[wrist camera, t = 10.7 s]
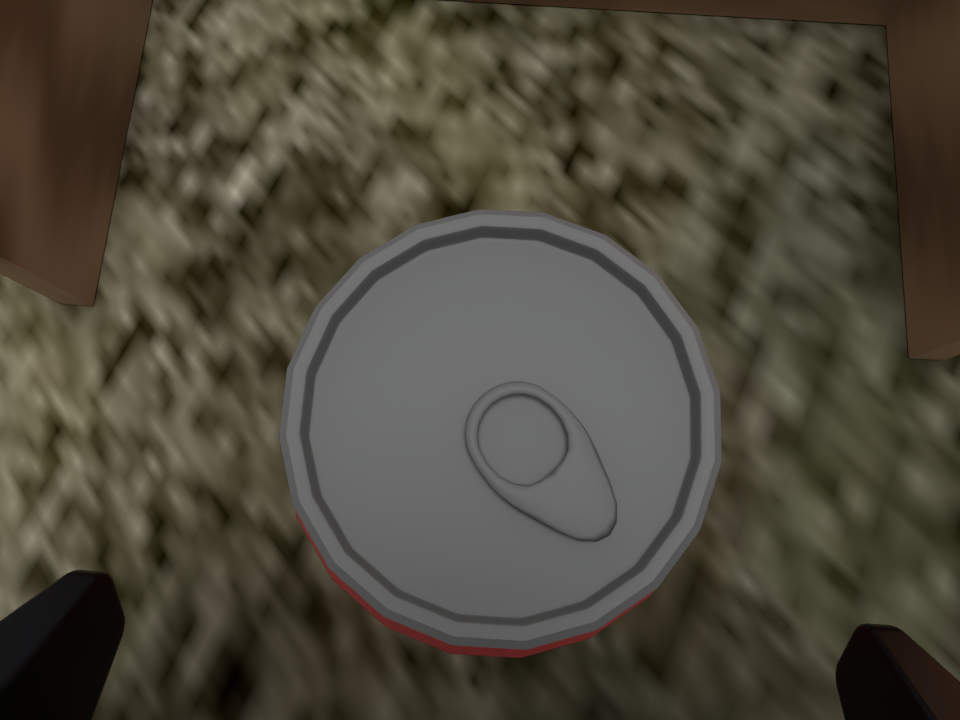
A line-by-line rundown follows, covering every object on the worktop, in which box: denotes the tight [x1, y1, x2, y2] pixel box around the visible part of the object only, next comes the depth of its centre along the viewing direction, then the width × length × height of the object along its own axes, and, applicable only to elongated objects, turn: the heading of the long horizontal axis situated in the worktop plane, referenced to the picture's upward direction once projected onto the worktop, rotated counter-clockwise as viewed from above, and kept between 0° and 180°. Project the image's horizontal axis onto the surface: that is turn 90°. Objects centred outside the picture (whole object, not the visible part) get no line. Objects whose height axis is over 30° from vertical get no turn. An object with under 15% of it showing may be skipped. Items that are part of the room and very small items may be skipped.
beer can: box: [279, 209, 721, 658], centre depth 14 cm, size 7×7×12 cm
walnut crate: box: [0, 0, 960, 360], centre depth 19 cm, size 13×27×8 cm, turn 86°
